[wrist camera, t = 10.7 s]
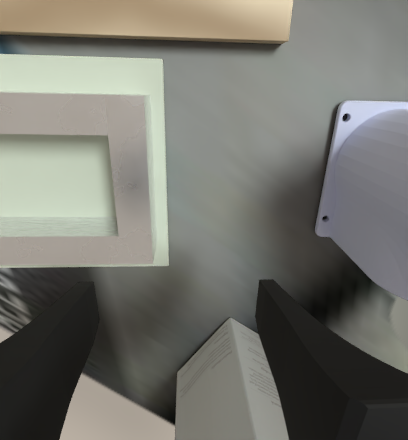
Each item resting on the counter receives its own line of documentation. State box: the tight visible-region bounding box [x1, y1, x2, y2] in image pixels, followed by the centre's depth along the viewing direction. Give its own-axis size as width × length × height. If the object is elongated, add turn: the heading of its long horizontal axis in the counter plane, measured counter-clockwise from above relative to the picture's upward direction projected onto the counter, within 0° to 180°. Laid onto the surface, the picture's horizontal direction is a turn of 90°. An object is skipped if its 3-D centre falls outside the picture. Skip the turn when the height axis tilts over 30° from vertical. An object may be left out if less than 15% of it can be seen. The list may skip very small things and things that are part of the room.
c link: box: [0, 91, 157, 265], centre depth 18 cm, size 10×12×3 cm
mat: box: [0, 54, 169, 268], centre depth 20 cm, size 14×14×1 cm
